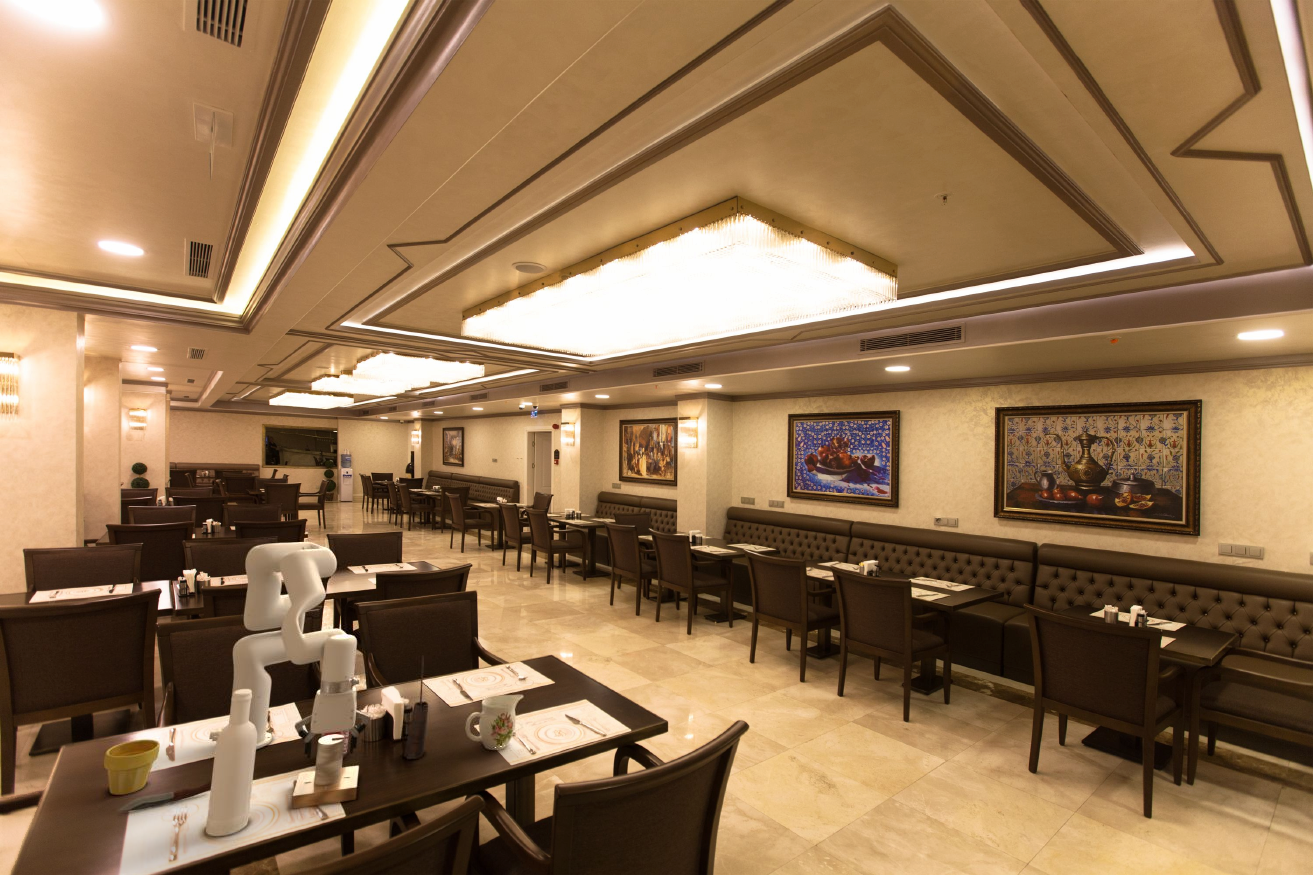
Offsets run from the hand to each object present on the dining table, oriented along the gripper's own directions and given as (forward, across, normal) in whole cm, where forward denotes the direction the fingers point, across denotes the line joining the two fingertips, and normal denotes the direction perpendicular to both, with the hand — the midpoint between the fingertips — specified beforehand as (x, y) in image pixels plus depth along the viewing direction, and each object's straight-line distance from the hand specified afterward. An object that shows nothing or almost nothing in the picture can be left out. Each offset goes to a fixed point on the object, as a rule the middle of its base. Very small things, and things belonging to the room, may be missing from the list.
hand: (330, 753), depth 153 cm
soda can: (+10, 0, -20) cm, 22 cm away
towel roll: (+6, 0, 0) cm, 6 cm away
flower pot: (+9, +45, -16) cm, 49 cm away
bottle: (+10, +19, +10) cm, 24 cm away
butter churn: (+10, -22, -14) cm, 28 cm away
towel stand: (+10, 0, 0) cm, 10 cm away
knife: (+10, +34, -5) cm, 36 cm away
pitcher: (+10, -44, -15) cm, 47 cm away
